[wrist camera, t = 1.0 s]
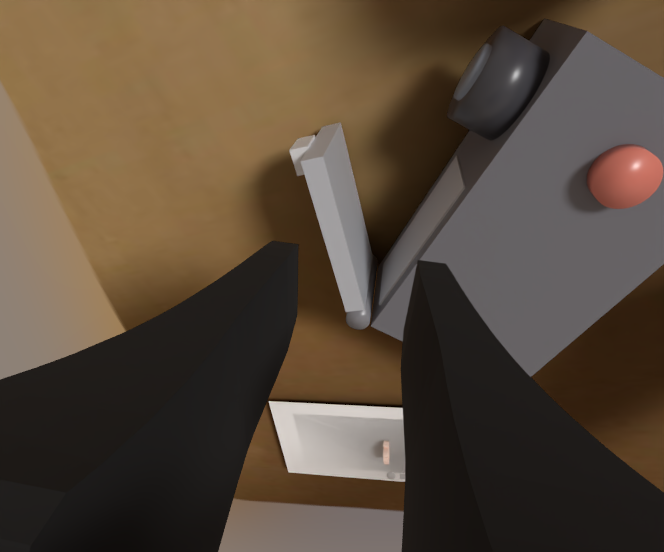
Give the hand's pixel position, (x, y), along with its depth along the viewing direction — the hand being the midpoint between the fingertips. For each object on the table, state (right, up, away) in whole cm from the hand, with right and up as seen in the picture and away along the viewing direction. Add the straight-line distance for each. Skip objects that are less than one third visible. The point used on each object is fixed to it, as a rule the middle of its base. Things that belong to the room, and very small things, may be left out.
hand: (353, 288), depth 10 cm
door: (0, +4, +10) cm, 11 cm away
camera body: (+7, +4, +9) cm, 12 cm away
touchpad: (+3, -10, +20) cm, 23 cm away
